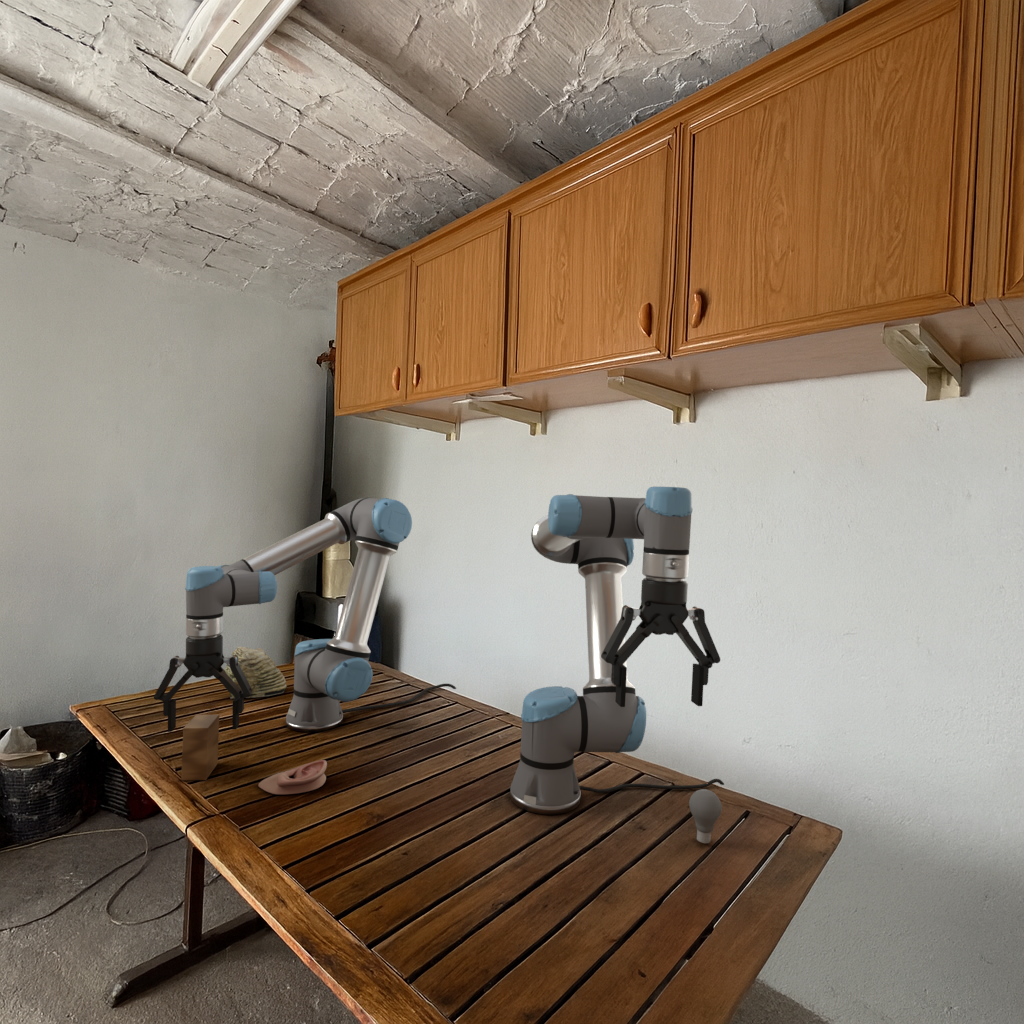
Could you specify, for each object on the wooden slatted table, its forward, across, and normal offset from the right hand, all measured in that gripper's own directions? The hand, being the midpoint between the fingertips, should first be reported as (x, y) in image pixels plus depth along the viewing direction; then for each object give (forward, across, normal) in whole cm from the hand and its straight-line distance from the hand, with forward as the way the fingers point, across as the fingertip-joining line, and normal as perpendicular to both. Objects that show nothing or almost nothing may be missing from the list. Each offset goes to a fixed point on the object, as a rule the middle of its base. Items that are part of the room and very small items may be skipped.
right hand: (658, 704), depth 107 cm
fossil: (+31, -88, +106) cm, 142 cm away
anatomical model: (+31, -66, +43) cm, 84 cm away
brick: (+31, -87, +50) cm, 105 cm away
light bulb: (+31, +16, +12) cm, 37 cm away
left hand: (+21, -87, +51) cm, 103 cm away
